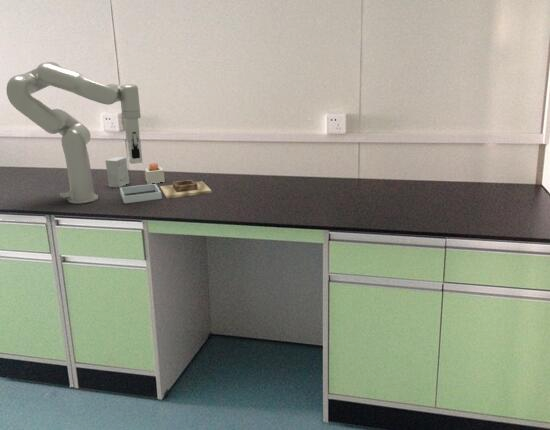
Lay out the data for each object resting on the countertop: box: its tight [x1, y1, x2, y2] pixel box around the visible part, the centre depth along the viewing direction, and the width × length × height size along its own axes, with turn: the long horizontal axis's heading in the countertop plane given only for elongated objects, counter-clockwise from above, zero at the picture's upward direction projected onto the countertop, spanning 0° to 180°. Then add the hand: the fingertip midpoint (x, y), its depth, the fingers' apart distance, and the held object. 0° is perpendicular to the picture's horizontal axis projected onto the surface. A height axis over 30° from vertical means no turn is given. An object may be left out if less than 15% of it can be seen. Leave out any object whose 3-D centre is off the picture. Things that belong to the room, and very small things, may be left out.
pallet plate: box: [159, 178, 212, 200], centre depth 250 cm, size 20×18×4 cm
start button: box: [148, 162, 159, 171], centre depth 266 cm, size 4×4×3 cm
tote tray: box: [119, 183, 163, 204], centre depth 243 cm, size 16×16×3 cm
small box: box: [104, 156, 130, 189], centre depth 262 cm, size 8×6×13 cm
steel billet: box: [126, 140, 143, 165], centre depth 237 cm, size 5×5×10 cm
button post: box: [144, 166, 165, 185], centre depth 267 cm, size 8×8×6 cm
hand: (135, 156), depth 238 cm, fingers closed on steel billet, 5 cm apart
